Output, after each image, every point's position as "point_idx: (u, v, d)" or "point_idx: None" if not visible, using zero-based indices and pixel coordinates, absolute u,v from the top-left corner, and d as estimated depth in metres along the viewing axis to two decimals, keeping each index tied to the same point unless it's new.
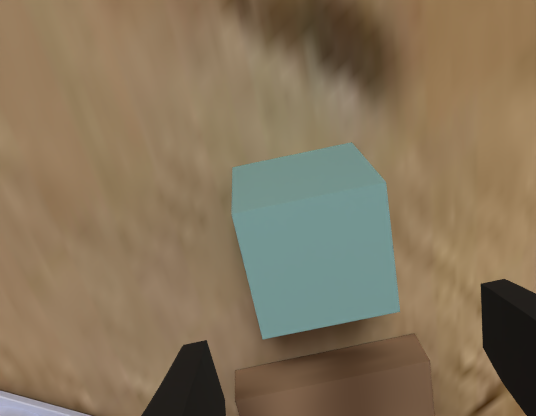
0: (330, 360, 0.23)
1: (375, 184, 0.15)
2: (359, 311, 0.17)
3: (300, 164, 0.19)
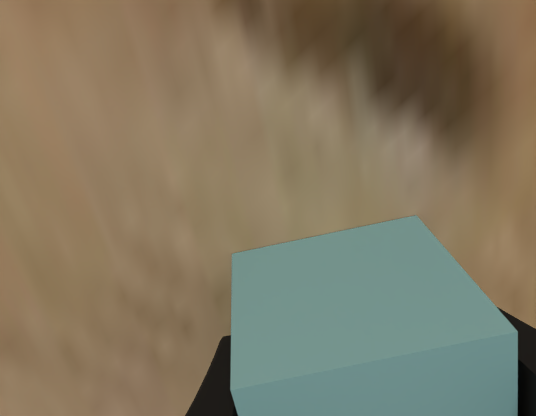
0: None
1: (498, 334, 0.08)
2: None
3: (342, 260, 0.11)
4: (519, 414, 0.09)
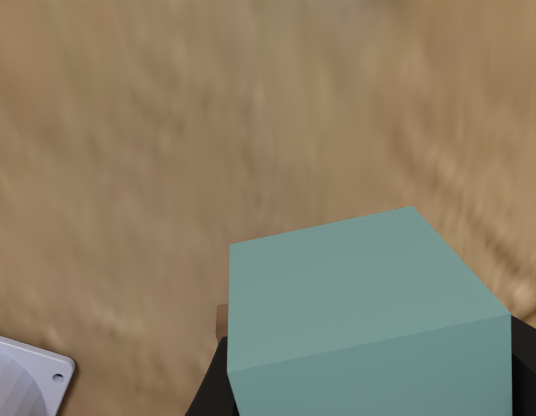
0: None
1: (491, 316, 0.08)
2: None
3: (339, 249, 0.12)
4: (520, 414, 0.09)
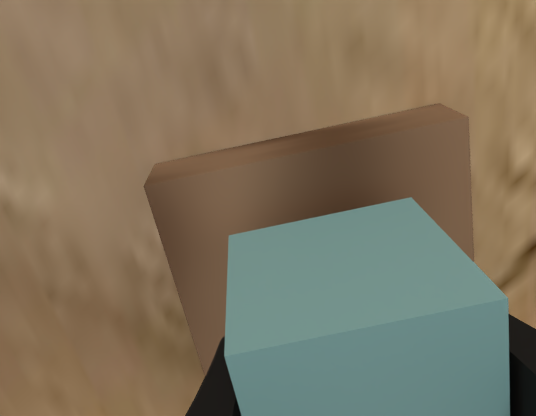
0: (304, 138, 0.14)
1: (489, 301, 0.08)
2: None
3: (337, 239, 0.12)
4: (519, 414, 0.09)
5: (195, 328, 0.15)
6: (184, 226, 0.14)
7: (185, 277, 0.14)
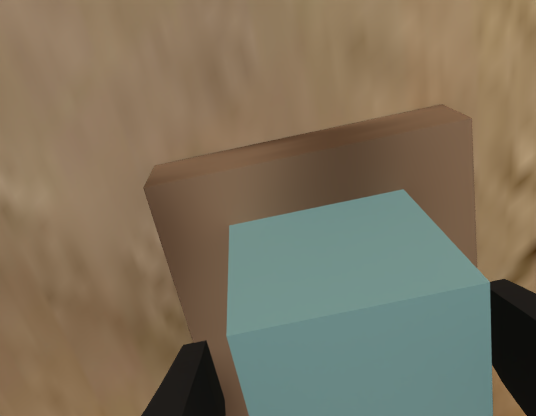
0: (305, 139, 0.14)
1: (472, 285, 0.09)
2: None
3: (332, 229, 0.12)
4: None
5: (195, 331, 0.15)
6: (185, 228, 0.14)
7: (185, 280, 0.14)
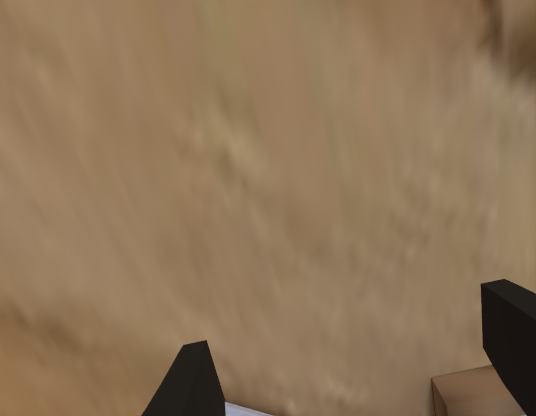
0: None
1: None
2: None
3: None
4: None
5: None
6: None
7: None
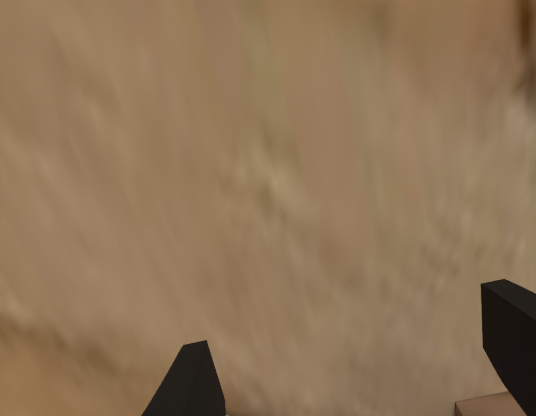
0: None
1: None
2: None
3: None
4: None
5: None
6: None
7: None
